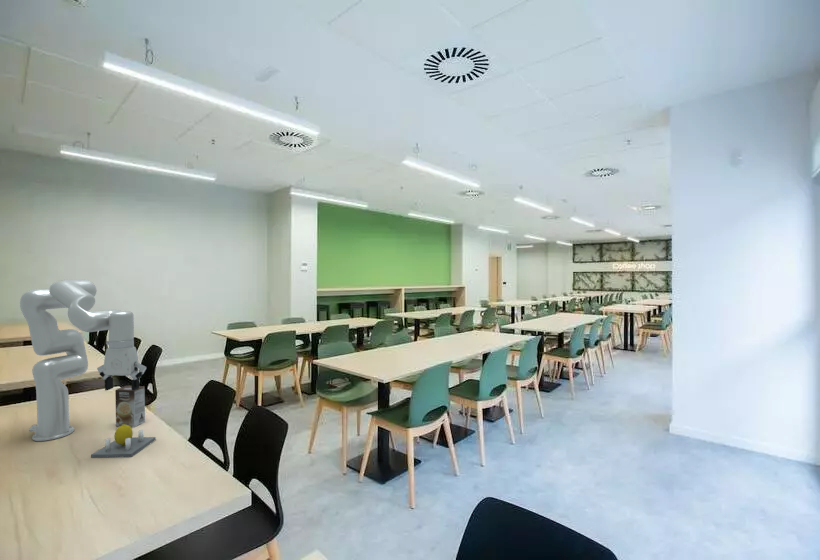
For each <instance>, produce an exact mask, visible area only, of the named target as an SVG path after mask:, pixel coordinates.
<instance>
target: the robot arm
mask: <svg viewBox="0 0 820 560" xmlns="http://www.w3.org/2000/svg"><path fill="white" fill-rule="evenodd" d="M97 291H98V290H97V286H96V284H95V283H93V282H92V281H90V280H89V279H64V280H57V281H55V282H53V283H52V284H51V285H50V286H49V288H36V289H31V290H27V291H26V292H24V293H23V294H22V295H21V297H20V300H19V308H20V311H21V313H22V315H23V317H24V319H25V320H26V323H27V325H28V331H29V336H30V341H31V345H32V348H33V352H34V354H35V355H37V356H42V357H43V356H49V355H51V356H52V355H57V354H63V353H66V355H60V356H54V357H50V358H49V357H48V358H45V359H42V360H39V361H37V362H36V363H34V365H33V366H32V371H31V372H32V373H31V374H32V378H33V380H34V385H35V390H36V391H35V393H36V418H37V419H36V421H37V422H36V424H32V425H31V427H30V428H28V431H29V432H34V434H32V436H31V437H32V441H36V442H44V441H52V440H57V439H60V438H63V437H66V436H69V435H70V434H72V433H73V432H75V427H74V426H72V425H70V411H69V410H70V408H69V407H70V405H69V401H70V400H69V389H68V387H67V386H66V385H65V383H63V382H62V380H65V379H69V378H74V377H77V376H81V375H83V374H85V373H86V372H87V370H88V367H89V361H88V355H87V351H86V345H85V342H84V337H83V335H82V334H81V332H79V330H81V331H82V332H86V333H93V332H100V331H108V340H107V341H106V342H105V343H106V345H107V346H108V348H106V350H105V354H104V360H103V361H104V362H103V364H102V365H100V366H98V367H96V369H97V371H98V373H99V375H100V377H102V380H103V381H104V391H109V390H112V389H113V388H114V379H113V378H114V376H118V377H119V376H121V377H123V376H130V377H131V386H132V390H136V389H138V388H139V386H140V378H142V376H143V375H144V374H145V372H146V370H147V366H145V365H143V364H142V363H139V357H138V351H137V348H136V346H135V334H134V333H135V330H134V328H135V327H134V326H135V325H134V324H135V323H134V321H135V320H134V319H135V318H134V313H133V312H132V311H129V310H121V309H104V310H95V311H92V310H91V309H92V308H94V306H95V303H96V298H95V296H96V295H97ZM53 309H54V310H55V309H68V310H67V316H68V320H69V322H70V323H71V324H72V326H74V327H76V328H77V329H79V330H77V329H74V328H71V329H70V328H69V329H67V328H66V329H61V330H60V329H59V325H58V321H57V318H56V317H55V316H54V315H52V314H51V313H50V312H49V311H47V310H53ZM90 310H91V311H90Z"/></svg>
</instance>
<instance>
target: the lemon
mask: <svg viewBox="0 0 820 560" xmlns="http://www.w3.org/2000/svg"><path fill="white" fill-rule="evenodd" d="M113 437H114V441H116V443H118V444H121V445H123V446H124V445H125V439H127V438H132V437H133V427H130V426H128V425H125V424H123V425H122V426H117V428H116V429H115V432H114V436H113Z"/></svg>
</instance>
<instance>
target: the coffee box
mask: <svg viewBox="0 0 820 560" xmlns="http://www.w3.org/2000/svg"><path fill="white" fill-rule="evenodd" d="M114 392H115V393H114V394H115V426H116V427H120V426H122V425H123V424H125V425H128V426H130V427H131V428H135V427H137V426H139V425H141V424H143V423H145V422H146V412H145V411H146V399H145V398H146V397H145V393H146V390H145V386H144V385H143V386H142V385H141V386H140V385H139V388H138V389H136V390H132V385H124V386H122V387H119V388H117V389H115V391H114Z"/></svg>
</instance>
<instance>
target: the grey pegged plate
mask: <svg viewBox="0 0 820 560" xmlns="http://www.w3.org/2000/svg"><path fill="white" fill-rule="evenodd" d="M137 433H138V435H137V437H134V436H132V438H127V439H125V445H124V446H123V445H121V444H118V443H116V441H115V440H113V441H111V438H110V437H109V438H106V439H104V446H103V447H102V448H100V449H98V450H96V451H95V452H94V453H91V454H90V455H91V457H90V458H91V459H102V458H103V459H104V458H106V459H107V458H108V459H109V458H112V459H113V458H132V457H134V456H135V455H137V454H138V453H140V452H141V451H142V450H143V449H145V448H146V447H148V446H149V445H151V444H153V443H154V442H155V441H156V438H157V437H156V436H144V429H140V430H139V429H138V431H137ZM154 440H155V441H154ZM153 441H154V442H153ZM150 443H151V444H150ZM133 455H134V456H133Z"/></svg>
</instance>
